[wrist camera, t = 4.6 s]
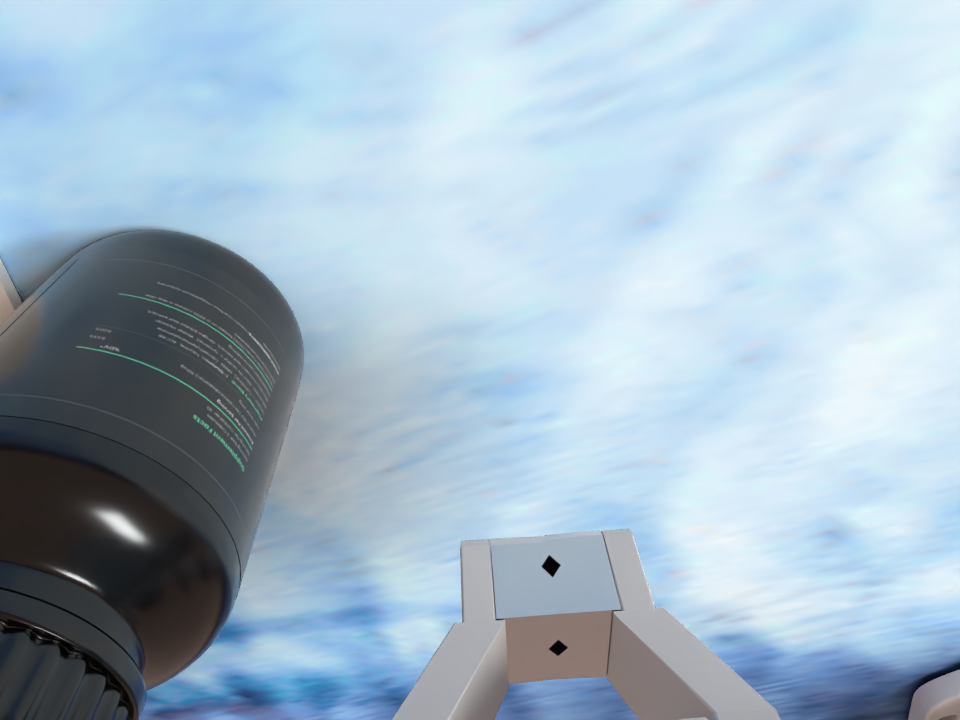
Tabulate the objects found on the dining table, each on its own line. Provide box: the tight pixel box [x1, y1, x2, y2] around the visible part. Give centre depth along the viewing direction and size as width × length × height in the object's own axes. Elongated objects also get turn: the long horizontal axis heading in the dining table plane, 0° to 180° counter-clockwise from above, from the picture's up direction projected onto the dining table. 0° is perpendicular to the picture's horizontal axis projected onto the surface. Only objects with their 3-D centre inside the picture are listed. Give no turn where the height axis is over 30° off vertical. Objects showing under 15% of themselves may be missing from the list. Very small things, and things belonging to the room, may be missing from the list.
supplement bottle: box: [0, 230, 304, 720], centre depth 14 cm, size 7×7×12 cm
